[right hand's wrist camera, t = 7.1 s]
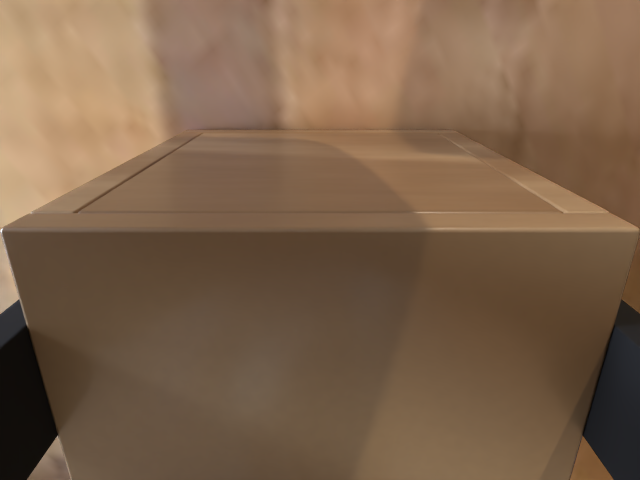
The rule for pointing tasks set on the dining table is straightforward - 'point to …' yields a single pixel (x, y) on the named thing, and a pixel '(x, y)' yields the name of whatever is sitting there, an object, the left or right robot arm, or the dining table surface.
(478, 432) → the cabinet
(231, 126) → the dining table surface
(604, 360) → the right robot arm
